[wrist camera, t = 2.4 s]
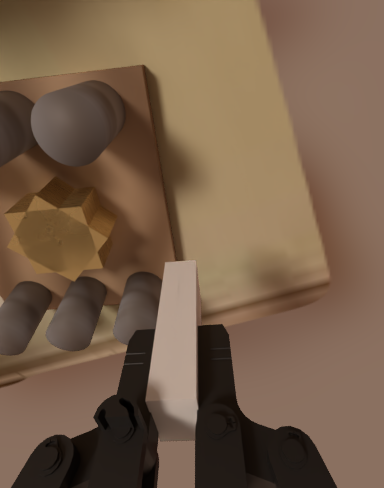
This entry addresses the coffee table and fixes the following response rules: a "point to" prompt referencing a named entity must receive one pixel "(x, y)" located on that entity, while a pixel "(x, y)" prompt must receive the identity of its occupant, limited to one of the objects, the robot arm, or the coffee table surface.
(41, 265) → the star-shaped block
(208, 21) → the coffee table surface
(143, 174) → the board
